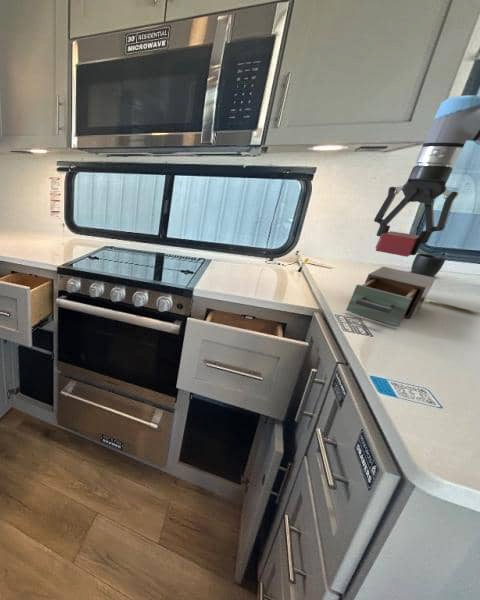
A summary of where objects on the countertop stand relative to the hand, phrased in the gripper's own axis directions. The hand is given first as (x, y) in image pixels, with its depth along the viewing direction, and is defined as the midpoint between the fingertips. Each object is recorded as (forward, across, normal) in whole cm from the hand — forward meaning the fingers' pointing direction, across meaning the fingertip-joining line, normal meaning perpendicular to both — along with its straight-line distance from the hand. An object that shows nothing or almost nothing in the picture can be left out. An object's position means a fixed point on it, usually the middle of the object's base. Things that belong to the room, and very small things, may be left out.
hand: (395, 250), depth 95 cm
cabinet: (+17, +3, +5) cm, 18 cm away
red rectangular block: (0, 0, 0) cm, 0 cm away
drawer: (+16, +3, -11) cm, 20 cm away
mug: (+17, +2, +57) cm, 60 cm away
